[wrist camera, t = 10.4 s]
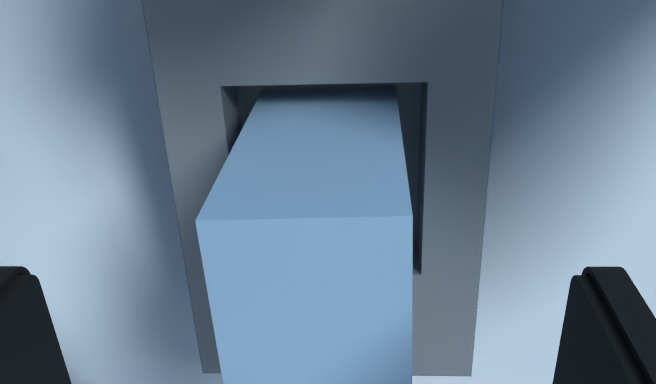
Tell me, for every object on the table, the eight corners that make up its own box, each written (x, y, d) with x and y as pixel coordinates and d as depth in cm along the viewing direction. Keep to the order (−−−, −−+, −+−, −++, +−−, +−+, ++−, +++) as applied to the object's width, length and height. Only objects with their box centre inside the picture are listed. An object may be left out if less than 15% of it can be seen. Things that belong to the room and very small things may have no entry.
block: (261, 91, 19) (195, 220, 12) (395, 86, 18) (412, 215, 11) (275, 222, 21) (226, 402, 14) (396, 219, 20) (412, 402, 13)
